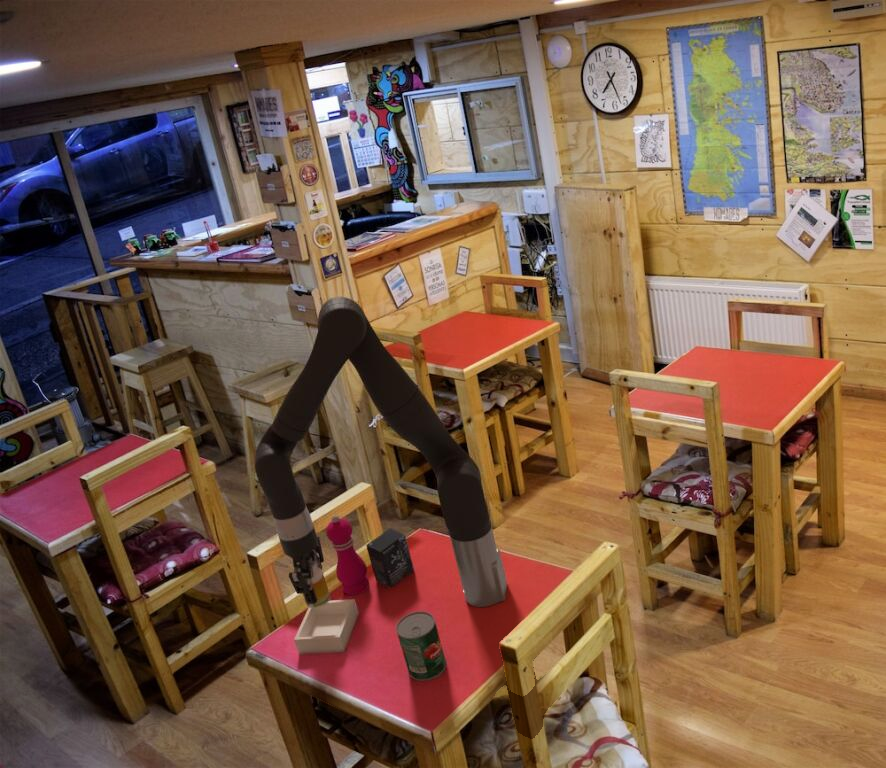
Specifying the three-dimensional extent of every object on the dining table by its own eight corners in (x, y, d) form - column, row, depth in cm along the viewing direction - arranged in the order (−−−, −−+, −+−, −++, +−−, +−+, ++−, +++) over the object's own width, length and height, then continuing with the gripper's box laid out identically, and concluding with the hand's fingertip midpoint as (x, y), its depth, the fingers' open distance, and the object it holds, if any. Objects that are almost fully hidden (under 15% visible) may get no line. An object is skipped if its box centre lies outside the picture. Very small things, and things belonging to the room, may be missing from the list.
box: (391, 589, 205) (380, 551, 201) (375, 581, 209) (364, 544, 205) (415, 570, 209) (405, 533, 205) (399, 563, 213) (389, 527, 209)
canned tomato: (407, 658, 182) (395, 616, 178) (444, 649, 182) (433, 607, 178) (409, 685, 175) (396, 641, 170) (448, 676, 175) (436, 632, 170)
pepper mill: (373, 575, 211) (352, 504, 203) (368, 594, 205) (346, 522, 197) (344, 579, 212) (322, 509, 204) (338, 598, 206) (316, 526, 198)
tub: (358, 613, 199) (354, 599, 197) (344, 651, 188) (339, 637, 186) (315, 615, 202) (311, 601, 200) (299, 654, 190) (294, 639, 189)
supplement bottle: (335, 594, 192) (323, 557, 188) (322, 610, 188) (310, 573, 184) (314, 591, 195) (303, 555, 191) (301, 607, 190) (289, 571, 187)
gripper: (301, 547, 177) (323, 615, 183) (322, 507, 189) (341, 572, 196) (266, 550, 178) (290, 617, 185) (289, 510, 191) (310, 574, 198)
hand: (316, 593), depth 191 cm, fingers closed on supplement bottle, 5 cm apart
